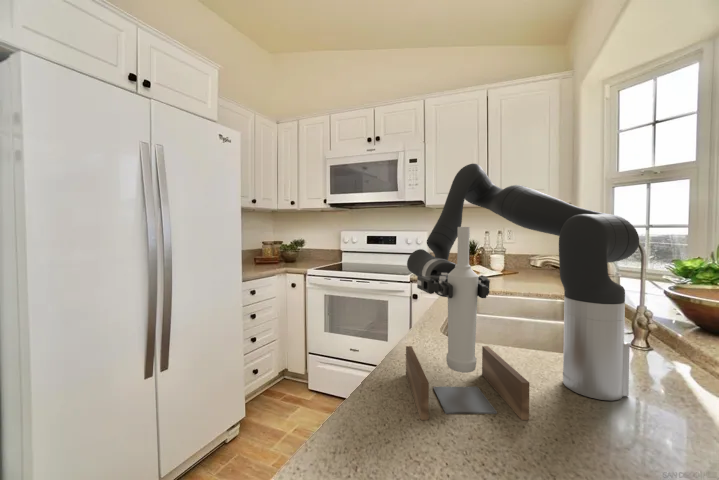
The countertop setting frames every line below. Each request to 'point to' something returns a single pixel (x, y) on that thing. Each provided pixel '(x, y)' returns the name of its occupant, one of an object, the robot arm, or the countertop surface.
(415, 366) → the arena
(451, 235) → the robot arm
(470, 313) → the bottle
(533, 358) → the countertop surface
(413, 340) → the countertop surface
